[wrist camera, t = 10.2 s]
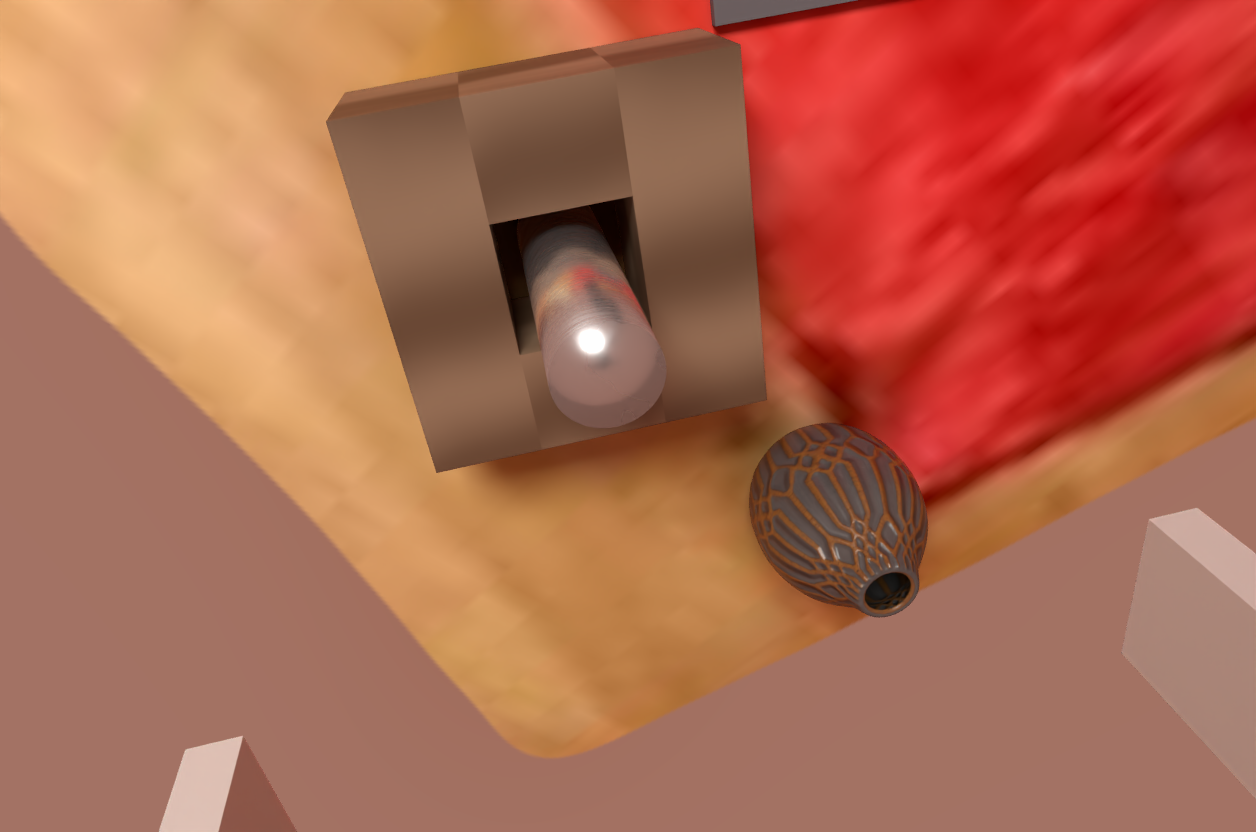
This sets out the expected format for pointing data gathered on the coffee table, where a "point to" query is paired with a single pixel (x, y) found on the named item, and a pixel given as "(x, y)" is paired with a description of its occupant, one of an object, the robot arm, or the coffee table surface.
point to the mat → (760, 8)
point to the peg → (588, 321)
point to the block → (547, 182)
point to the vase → (840, 518)
